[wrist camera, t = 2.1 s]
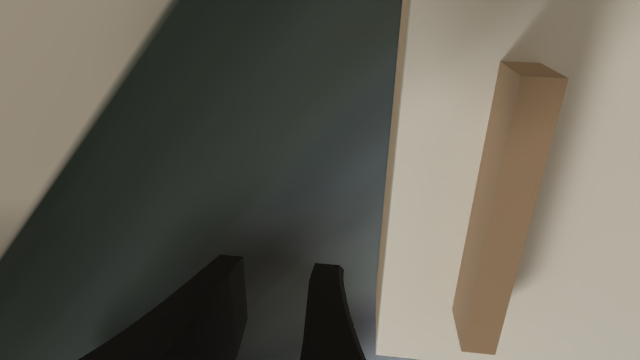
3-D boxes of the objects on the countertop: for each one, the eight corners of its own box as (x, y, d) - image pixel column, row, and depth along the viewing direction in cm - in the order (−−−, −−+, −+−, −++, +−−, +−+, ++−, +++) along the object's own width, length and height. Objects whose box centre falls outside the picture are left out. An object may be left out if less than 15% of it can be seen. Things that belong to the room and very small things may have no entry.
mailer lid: (654, 373, 19) (697, 435, 16) (375, 344, 20) (375, 398, 17) (863, -43, 12) (995, -47, 9) (414, -49, 13) (423, -54, 10)
